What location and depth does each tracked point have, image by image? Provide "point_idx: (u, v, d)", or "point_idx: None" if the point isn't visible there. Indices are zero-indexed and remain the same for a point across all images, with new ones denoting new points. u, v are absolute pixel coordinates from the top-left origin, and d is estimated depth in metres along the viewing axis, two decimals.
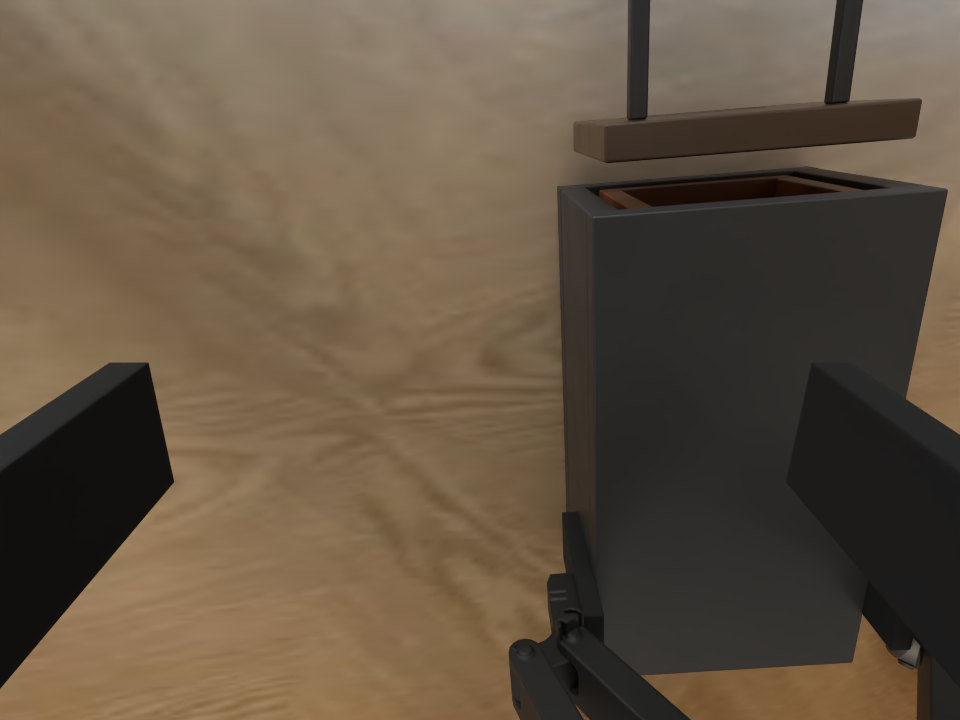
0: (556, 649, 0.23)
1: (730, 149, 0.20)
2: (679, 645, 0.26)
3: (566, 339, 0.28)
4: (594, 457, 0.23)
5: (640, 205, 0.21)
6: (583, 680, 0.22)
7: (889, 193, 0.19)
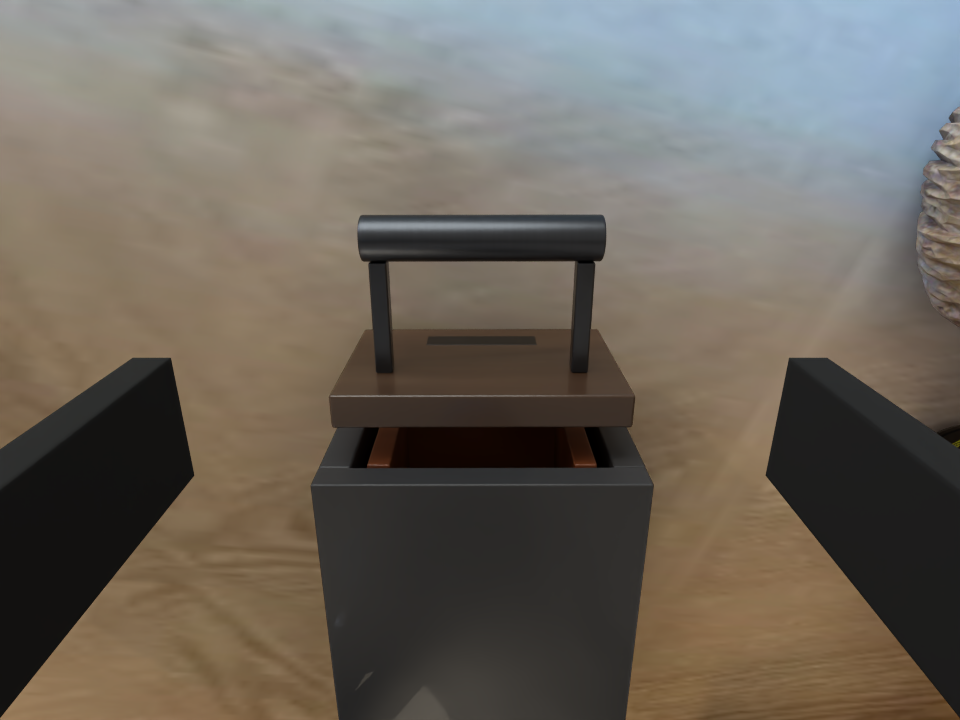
0: None
1: (453, 425, 0.20)
2: None
3: None
4: None
5: (383, 453, 0.22)
6: None
7: (598, 484, 0.20)
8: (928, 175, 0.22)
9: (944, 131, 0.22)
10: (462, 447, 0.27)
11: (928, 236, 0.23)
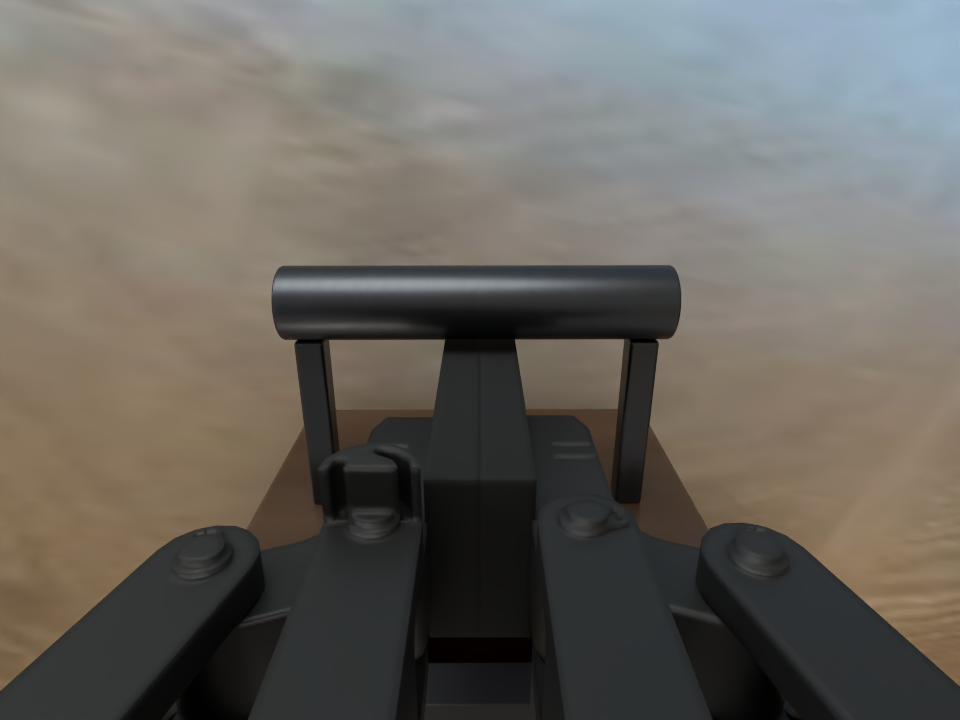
0: None
1: None
2: None
3: None
4: None
5: None
6: None
7: None
8: None
9: None
10: None
11: None
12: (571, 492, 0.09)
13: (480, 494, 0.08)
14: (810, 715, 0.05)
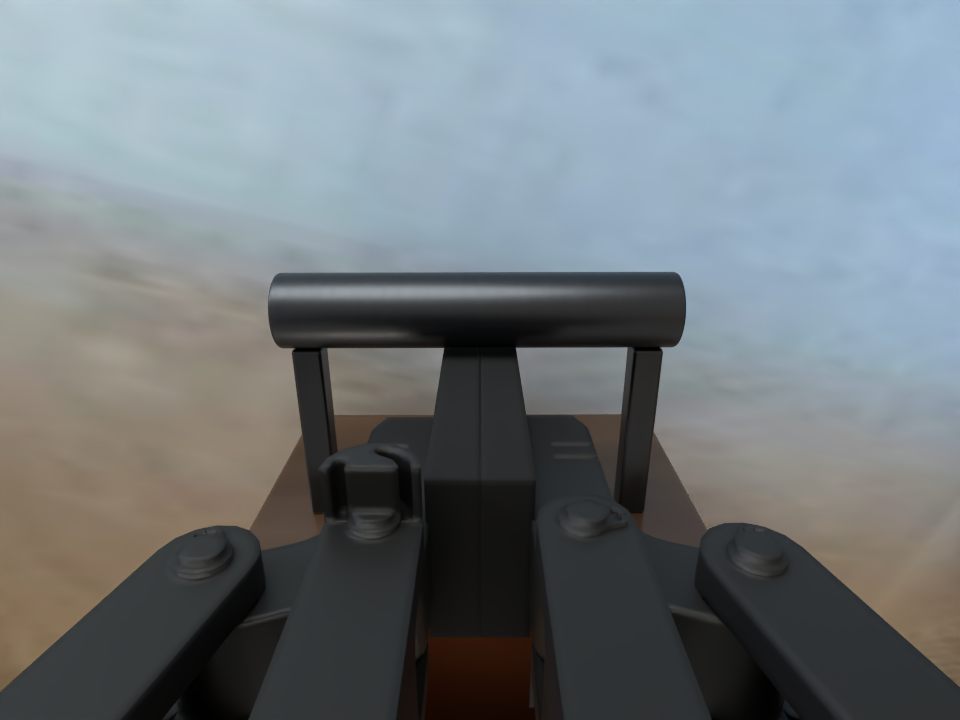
0: None
1: None
2: None
3: None
4: None
5: None
6: None
7: None
8: None
9: None
10: None
11: None
12: (570, 492, 0.09)
13: (480, 494, 0.08)
14: (809, 715, 0.05)
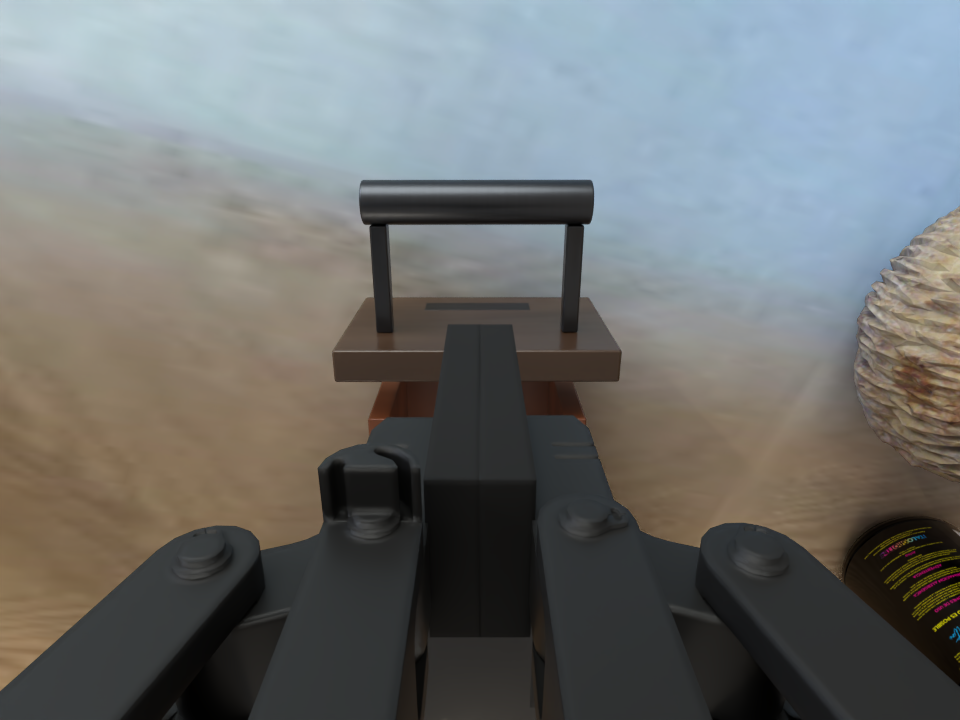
0: None
1: None
2: None
3: None
4: None
5: (383, 409, 0.23)
6: None
7: None
8: (861, 326, 0.26)
9: (874, 289, 0.26)
10: None
11: (862, 376, 0.26)
12: (571, 492, 0.09)
13: (480, 494, 0.08)
14: (810, 715, 0.05)
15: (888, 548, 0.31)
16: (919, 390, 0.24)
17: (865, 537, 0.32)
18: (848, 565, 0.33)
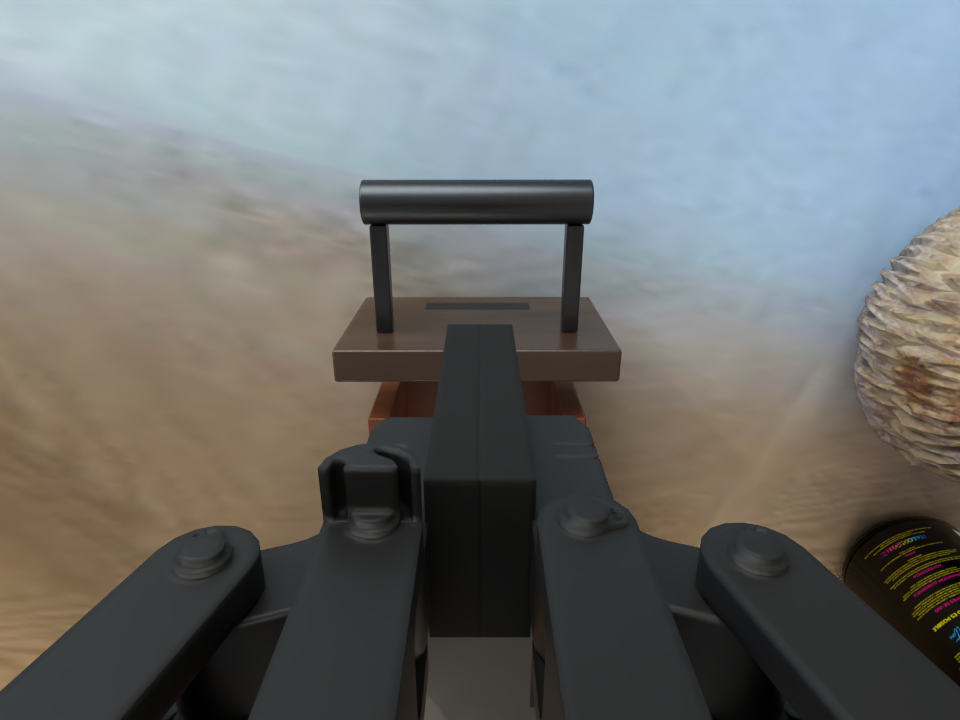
0: None
1: None
2: None
3: None
4: None
5: (383, 409, 0.23)
6: None
7: None
8: (861, 326, 0.26)
9: (874, 289, 0.26)
10: None
11: (862, 376, 0.26)
12: (571, 492, 0.09)
13: (480, 494, 0.08)
14: (810, 715, 0.05)
15: (888, 548, 0.31)
16: (919, 390, 0.24)
17: (865, 537, 0.32)
18: (848, 565, 0.33)
